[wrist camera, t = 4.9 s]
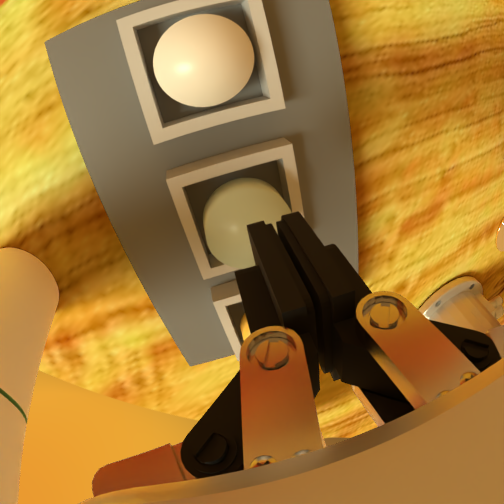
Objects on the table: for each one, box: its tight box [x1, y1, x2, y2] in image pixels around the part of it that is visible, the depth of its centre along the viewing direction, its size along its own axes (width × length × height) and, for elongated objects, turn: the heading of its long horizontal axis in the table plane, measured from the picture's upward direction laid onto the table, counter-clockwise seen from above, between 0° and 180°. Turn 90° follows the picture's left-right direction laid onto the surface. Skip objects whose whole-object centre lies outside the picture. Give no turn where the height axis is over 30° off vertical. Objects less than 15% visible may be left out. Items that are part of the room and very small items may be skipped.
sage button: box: [203, 178, 291, 269], centre depth 16 cm, size 4×4×2 cm
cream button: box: [153, 14, 254, 107], centre depth 12 cm, size 4×4×2 cm
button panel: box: [45, 0, 358, 366], centre depth 18 cm, size 14×24×4 cm, turn 12°
